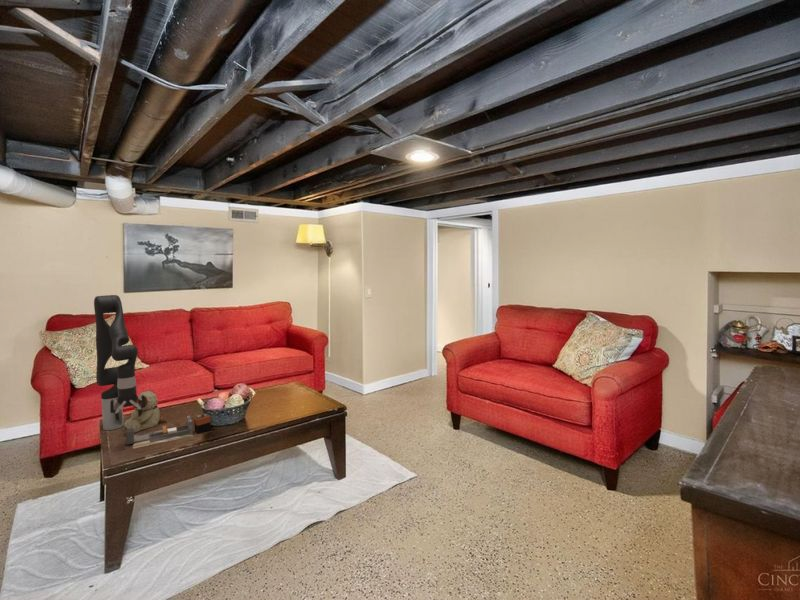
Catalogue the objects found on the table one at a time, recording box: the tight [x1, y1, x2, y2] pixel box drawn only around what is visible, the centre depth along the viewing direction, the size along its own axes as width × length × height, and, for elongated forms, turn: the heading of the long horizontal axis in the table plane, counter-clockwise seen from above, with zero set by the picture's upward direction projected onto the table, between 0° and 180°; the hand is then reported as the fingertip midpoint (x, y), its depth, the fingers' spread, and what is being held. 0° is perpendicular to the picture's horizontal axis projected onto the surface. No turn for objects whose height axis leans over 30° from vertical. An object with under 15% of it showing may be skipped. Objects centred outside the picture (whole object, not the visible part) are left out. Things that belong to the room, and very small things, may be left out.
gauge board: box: [132, 415, 194, 449], centre depth 206 cm, size 14×26×8 cm, turn 124°
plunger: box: [125, 425, 168, 445], centre depth 202 cm, size 5×17×6 cm, turn 124°
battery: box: [193, 413, 212, 435], centre depth 213 cm, size 4×7×10 cm, turn 139°
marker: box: [167, 426, 177, 434], centre depth 208 cm, size 4×4×3 cm
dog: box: [123, 390, 168, 434], centre depth 221 cm, size 23×19×20 cm
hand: (128, 418), depth 197 cm, fingers open, 8 cm apart
